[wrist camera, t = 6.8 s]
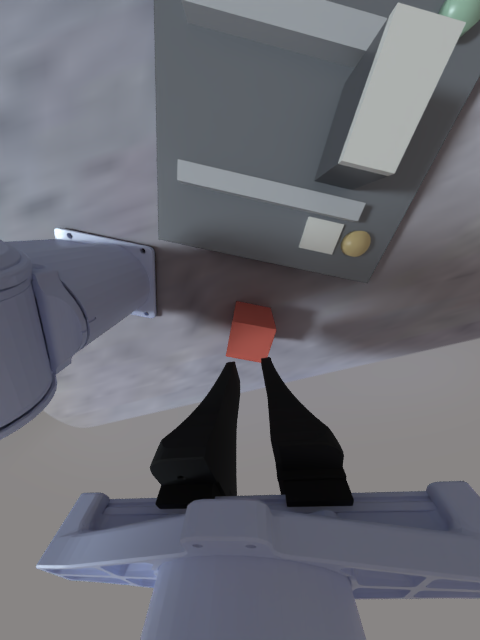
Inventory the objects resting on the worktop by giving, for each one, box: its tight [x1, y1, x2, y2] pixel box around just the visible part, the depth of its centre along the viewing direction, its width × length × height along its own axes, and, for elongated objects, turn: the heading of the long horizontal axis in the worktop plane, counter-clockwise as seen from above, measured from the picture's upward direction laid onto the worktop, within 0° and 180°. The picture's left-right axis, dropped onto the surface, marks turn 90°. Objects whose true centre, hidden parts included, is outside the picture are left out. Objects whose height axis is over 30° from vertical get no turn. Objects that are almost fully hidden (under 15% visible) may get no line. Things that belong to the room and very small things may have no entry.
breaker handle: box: [314, 2, 466, 190], centre depth 10 cm, size 3×5×4 cm, turn 169°
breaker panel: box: [154, 0, 480, 283], centre depth 12 cm, size 20×18×3 cm
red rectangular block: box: [226, 301, 276, 363], centre depth 19 cm, size 4×4×5 cm
